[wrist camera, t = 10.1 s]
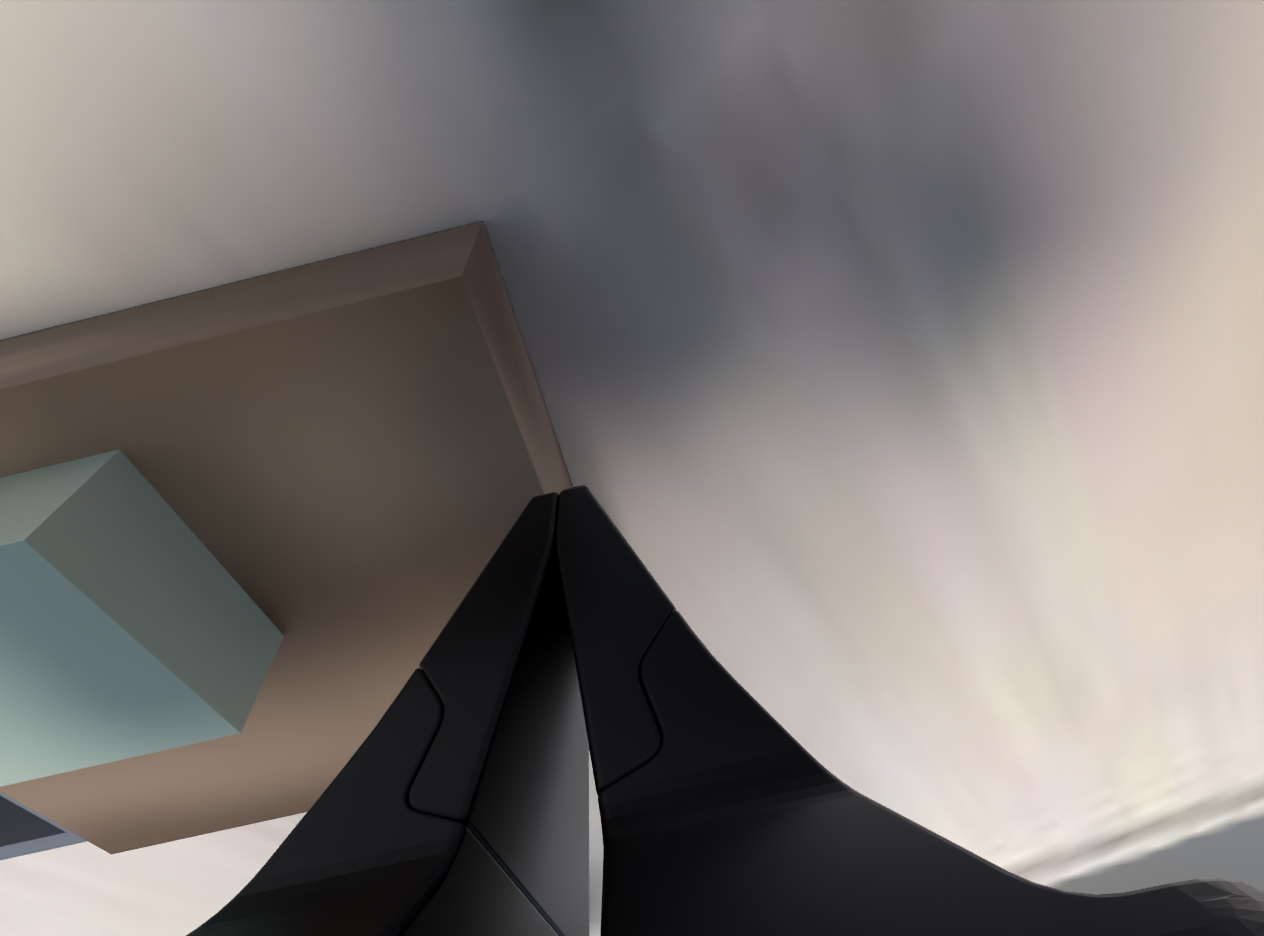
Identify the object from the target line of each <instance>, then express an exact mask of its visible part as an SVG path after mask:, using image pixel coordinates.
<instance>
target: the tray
mask: <svg viewBox="0 0 1264 936" xmlns="http://www.w3.org/2000/svg"><path fill="white" fill-rule="evenodd" d="M86 841H87V840H85V839H83V838H82V837H80V836H78V835H76V834H74V833H73V832H71V831H69V830H67V829H66V828H64V827H62V826H60V825H58V824H57V823H55V822H53V821H51V820H50V819H48V818H46V817H44V816H43V815H41V814H39V813H37V812H35V811H34V810H32V809H30V808H28V807H27V806H25V805H23V804H21V803H19V802H18V801H16V800H14V799H12V798H11V797H9V796H7V795H5V794H4V793H2V792H0V860H4V859H8V858H13V857H17V856H22V855H27V854H31V853H36V852H40V851H45V850H50V849H54V848H59V847H63V846H68V845H72V844H77V843H82V842H86Z"/></svg>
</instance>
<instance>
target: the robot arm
mask: <svg viewBox="0 0 1264 936" xmlns="http://www.w3.org/2000/svg"><path fill="white" fill-rule="evenodd" d="M419 666H420V668H421V669H420V668H417V669H415V671H414V672H413V674H412V675H411V677H410V678H409V680H408V681H407V682H406V684H405V685H404V687H403V688H402V690H401V691H400V693H399V694H398V696H397V697H396V698H395V700H394V701H393V703H392V704H391V705H390V707H389V708H388V710H387V711H386V712H385V714H384V715H383V717H382V718H381V719H380V721H379V722H378V724H377V725H376V726H375V728H374V729H373V730H372V732H371V733H370V734H369V735H368V737H367V738H366V739H365V741H364V742H363V743H362V744H361V746H360V747H359V748H358V750H357V751H356V752H355V753H354V755H353V756H352V757H351V759H350V760H349V761H348V762H347V764H346V765H345V766H344V767H343V769H342V770H341V771H340V772H339V774H338V775H337V776H336V777H335V779H334V780H333V781H332V782H331V784H330V785H329V786H328V787H327V788H326V790H325V791H324V792H323V793H322V795H321V796H320V797H319V798H318V800H317V801H316V802H315V803H314V805H313V806H312V807H311V808H310V810H309V811H308V812H307V813H306V814H305V816H304V817H303V818H302V819H301V821H300V822H299V823H298V824H297V826H296V827H295V828H294V829H293V831H292V832H291V833H290V834H289V835H288V837H287V838H286V839H285V840H284V842H283V843H282V844H281V845H280V847H279V848H278V849H277V850H276V852H275V853H274V854H273V855H272V856H271V858H270V859H269V860H268V861H267V863H266V864H265V865H264V866H263V867H262V868H261V870H260V871H259V872H258V873H257V874H256V875H255V877H254V878H253V879H252V880H251V881H250V882H249V883H248V884H247V885H246V886H245V887H244V888H243V889H242V890H241V891H240V892H239V893H238V894H237V895H236V896H235V897H234V898H233V899H232V900H231V901H230V902H229V903H228V904H227V905H226V906H225V907H223V908H222V909H221V910H220V911H219V912H218V913H217V914H215V915H214V916H213V917H211V918H210V919H209V920H208V921H206V922H205V923H204V924H202V925H201V926H200V927H198V928H197V929H195V930H194V931H192V932H191V933H189V934H188V935H186V936H589V749H590V755H591V762H592V768H593V774H594V780H595V786H596V792H597V794H598V803H599V809H600V816H601V824H602V834H603V845H604V859H603V885H602V911H601V936H1264V891H1262V890H1260V889H1258V888H1255V887H1254V886H1251V885H1249V884H1246V883H1244V882H1241V881H1236V880H1227V879H1219V878H1216V879H1195V880H1189V881H1183V882H1176V883H1170V884H1165V885H1160V886H1155V887H1150V888H1145V889H1141V890H1135V891H1130V892H1125V893H1114V894H1101V895H1094V894H1085V893H1075V892H1067V891H1063V890H1059V889H1055V888H1052V887H1048V886H1044V885H1041V884H1037V883H1034V882H1031V881H1029V880H1027V879H1025V878H1022V877H1020V876H1018V875H1015V874H1013V873H1011V872H1008V871H1006V870H1005V869H1003V868H1001V867H999V866H997V865H995V864H993V863H991V862H989V861H987V860H986V859H984V858H982V857H980V856H978V855H976V854H974V853H972V852H970V851H968V850H967V849H965V848H963V847H961V846H959V845H957V844H955V843H953V842H951V841H950V840H948V839H946V838H944V837H942V836H940V835H938V834H936V833H934V832H932V831H931V830H929V829H927V828H925V827H923V826H921V825H919V824H917V823H915V822H913V821H912V820H910V819H908V818H906V817H904V816H902V815H900V814H898V813H896V812H894V811H893V810H891V809H889V808H887V807H885V806H883V805H881V804H879V803H877V802H875V801H874V800H872V799H870V798H868V797H866V796H864V795H862V794H860V793H859V792H857V791H855V790H854V789H852V788H851V787H849V786H848V785H846V784H845V783H843V782H842V781H841V780H839V779H838V778H837V777H836V776H834V775H833V774H832V773H831V772H829V771H828V770H827V769H826V768H825V767H824V766H822V765H821V764H820V763H819V762H818V761H817V760H816V759H815V758H814V757H813V756H812V755H810V754H809V753H808V752H807V751H806V750H805V749H804V748H803V747H802V746H801V745H800V744H799V743H798V742H797V741H796V740H795V739H794V738H793V737H792V736H791V735H790V734H789V733H788V732H787V731H786V730H785V729H784V728H783V727H782V726H781V725H780V724H779V723H778V722H777V721H776V720H775V719H774V718H773V717H772V716H771V715H770V714H769V713H768V712H767V711H766V710H765V709H764V708H763V707H762V706H761V705H760V704H759V703H758V702H757V701H756V700H755V699H754V698H753V697H752V696H751V695H750V694H749V693H748V692H747V691H746V690H745V689H744V688H743V687H742V686H741V685H740V684H739V683H738V682H737V681H736V680H735V679H734V678H733V677H732V676H731V675H730V674H729V672H728V671H727V670H726V669H725V668H724V667H723V666H722V665H721V664H720V663H719V662H718V661H717V660H716V658H715V657H714V656H713V655H712V654H711V653H710V652H709V650H708V649H707V648H706V647H705V645H704V644H703V643H702V642H701V640H700V639H699V638H698V637H697V635H696V634H695V633H694V632H693V630H692V629H691V628H690V626H689V625H688V624H687V622H686V621H685V620H684V618H683V617H682V616H681V614H680V613H679V612H678V611H676V608H675V607H674V605H673V604H672V602H671V601H670V600H669V598H668V597H667V596H666V594H665V593H664V591H663V590H662V589H661V587H660V586H659V585H658V583H657V582H656V581H655V579H654V578H653V576H652V575H651V574H650V572H649V571H648V570H647V568H646V567H645V565H644V564H643V563H642V561H641V560H640V559H639V557H638V556H637V555H636V553H635V552H634V550H633V549H632V548H631V546H630V545H629V544H628V542H627V541H626V539H625V538H624V537H623V535H622V534H621V533H620V531H619V530H618V529H617V527H616V526H615V524H614V523H613V522H612V520H611V519H610V518H609V516H608V515H607V513H606V512H605V511H604V509H603V508H602V507H601V505H600V504H599V503H598V501H597V500H596V498H595V497H594V496H593V494H592V493H591V492H590V490H589V489H588V488H587V487H586V486H584V485H581V486H577V487H573V488H569V489H564V490H562V491H561V492H560V494H559V493H558V492H551V493H547V494H543V495H538V496H535V497H533V498H532V499H531V500H530V501H529V503H528V504H527V506H526V507H525V509H524V510H523V512H522V513H521V515H520V516H519V518H518V519H517V520H516V522H515V523H514V525H513V526H512V528H511V529H510V531H509V532H508V534H507V535H506V537H505V538H504V540H503V541H502V543H501V544H500V546H499V547H498V549H497V550H496V551H495V553H494V554H493V556H492V557H491V559H490V560H489V562H488V563H487V565H486V566H485V568H484V569H483V571H482V572H481V574H480V575H479V577H478V578H477V580H476V581H475V582H474V584H473V585H472V587H471V588H470V590H469V591H468V593H467V594H466V596H465V597H464V599H463V600H462V602H461V603H460V605H459V606H458V608H457V609H456V611H455V612H454V613H453V615H452V616H451V618H450V619H449V621H448V622H447V624H446V625H445V627H444V628H443V630H442V631H441V633H440V634H439V636H438V637H437V639H436V640H435V642H434V643H433V644H432V646H431V647H430V649H429V650H428V652H427V653H426V655H425V656H424V658H423V659H422V661H421V662H420V664H419Z"/></svg>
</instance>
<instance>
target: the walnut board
mask: <svg viewBox="0 0 1264 936" xmlns="http://www.w3.org/2000/svg"><path fill="white" fill-rule="evenodd" d="M119 449H120V450H121V451H122V452H123V454H124V455H125V456H126V457H127V458H128V459H129V460H130V462H131V463H132V464H133V465H134V466H135V467H136V468H137V469H138V471H139V472H140V473H141V474H142V475H143V476H144V477H145V479H146V480H147V481H148V482H149V483H150V484H151V485H152V487H153V488H154V489H155V490H156V491H157V492H158V493H159V494H160V496H161V497H162V498H163V499H164V500H165V501H166V502H167V504H168V505H169V506H170V507H171V508H172V509H173V510H174V511H175V513H176V514H177V515H178V516H179V517H180V518H181V519H182V521H183V522H184V523H185V524H186V525H187V526H188V527H189V529H190V530H191V531H192V532H193V533H194V534H195V535H196V536H197V538H198V539H199V540H200V541H201V542H202V543H203V544H204V546H205V547H206V548H207V549H208V550H209V551H210V552H211V554H212V555H213V556H214V557H215V558H216V559H217V560H218V561H219V563H220V564H221V565H222V566H223V567H224V568H225V569H226V571H227V572H228V573H229V574H230V575H231V576H232V577H233V579H234V580H235V581H236V582H237V583H238V584H239V585H240V586H241V588H242V589H243V590H244V591H245V592H246V593H247V594H248V596H249V597H250V598H251V599H252V600H253V601H254V602H255V603H256V605H257V606H258V607H259V608H260V609H261V610H262V611H263V613H264V614H265V615H266V616H267V617H268V618H269V619H270V621H271V622H272V623H273V624H274V625H275V626H276V627H277V628H278V630H279V631H280V632H281V633H282V634H283V635H284V638H283V640H282V642H281V644H280V647H279V649H278V651H277V653H276V656H275V658H274V660H273V662H272V665H271V667H270V669H269V671H268V673H267V676H266V678H265V680H264V682H263V685H262V687H261V689H260V691H259V693H258V696H257V698H256V700H255V702H254V705H253V707H252V709H251V711H250V714H249V716H248V718H247V720H246V722H245V725H244V727H243V729H242V731H241V733H240V734H235V735H231V736H226V737H222V738H217V739H213V740H208V741H204V742H199V743H195V744H190V745H186V746H181V747H177V748H172V749H168V750H163V751H159V752H154V753H150V754H145V755H141V756H136V757H132V758H127V759H123V760H118V761H114V762H109V763H105V764H100V765H96V766H91V767H87V768H82V769H78V770H73V771H69V772H64V773H60V774H55V775H51V776H46V777H42V778H37V779H33V780H28V781H24V782H19V783H15V784H10V785H6V786H1V787H0V792H2V793H4V794H5V795H7V796H9V797H11V798H12V799H14V800H16V801H18V802H19V803H21V804H23V805H25V806H27V807H28V808H30V809H32V810H34V811H35V812H37V813H39V814H41V815H43V816H44V817H46V818H48V819H50V820H51V821H53V822H55V823H57V824H58V825H60V826H62V827H64V828H66V829H67V830H69V831H71V832H73V833H74V834H76V835H78V836H80V837H82V838H83V839H85V840H87V841H89V842H90V843H92V844H94V845H96V846H97V847H99V848H101V849H103V850H105V851H106V852H108V853H110V854H115V853H120V852H124V851H129V850H133V849H138V848H143V847H147V846H152V845H156V844H161V843H166V842H170V841H175V840H179V839H184V838H189V837H193V836H198V835H202V834H207V833H212V832H216V831H221V830H225V829H230V828H235V827H239V826H244V825H249V824H253V823H258V822H262V821H267V820H272V819H276V818H281V817H285V816H290V815H295V814H299V813H304V812H308V811H309V810H310V808H311V807H312V806H313V805H314V803H315V802H316V801H317V800H318V798H319V797H320V796H321V795H322V793H323V792H324V791H325V790H326V788H327V787H328V786H329V785H330V784H331V782H332V781H333V780H334V779H335V777H336V776H337V775H338V774H339V772H340V771H341V770H342V769H343V767H344V766H345V765H346V764H347V762H348V761H349V760H350V759H351V757H352V756H353V755H354V753H355V752H356V751H357V750H358V748H359V747H360V746H361V744H362V743H363V742H364V741H365V739H366V738H367V737H368V735H369V734H370V733H371V732H372V730H373V729H374V728H375V726H376V725H377V724H378V722H379V721H380V719H381V718H382V717H383V715H384V714H385V712H386V711H387V710H388V708H389V707H390V705H391V704H392V703H393V701H394V700H395V698H396V697H397V696H398V694H399V693H400V691H401V690H402V688H403V687H404V685H405V684H406V682H407V681H408V680H409V678H410V677H411V675H412V674H413V672H414V671H415V669H417V668H420V666H419V664H420V662H421V661H422V659H423V658H424V656H425V655H426V653H427V652H428V650H429V649H430V647H431V646H432V644H433V643H434V642H435V640H436V639H437V637H438V636H439V634H440V633H441V631H442V630H443V628H444V627H445V625H446V624H447V622H448V621H449V619H450V618H451V616H452V615H453V613H454V612H455V611H456V609H457V608H458V606H459V605H460V603H461V602H462V600H463V599H464V597H465V596H466V594H467V593H468V591H469V590H470V588H471V587H472V585H473V584H474V582H475V581H476V580H477V578H478V577H479V575H480V574H481V572H482V571H483V569H484V568H485V566H486V565H487V563H488V562H489V560H490V559H491V557H492V556H493V554H494V553H495V551H496V550H497V549H498V547H499V546H500V544H501V543H502V541H503V540H504V538H505V537H506V535H507V534H508V532H509V531H510V529H511V528H512V526H513V525H514V523H515V522H516V520H517V519H518V518H519V516H520V515H521V513H522V512H523V510H524V509H525V507H526V506H527V504H528V503H529V501H530V500H531V499H532V498H533V497H535V496H538V495H543V494H547V493H551V492H558V493H559V494H560V492H561V491H562V490H564V489H569V488H573V485H572V483H571V480H570V477H569V474H568V471H567V468H566V465H565V462H564V459H563V456H562V453H561V450H560V447H559V444H558V441H557V438H556V435H555V432H554V430H553V427H552V424H551V421H550V418H549V415H548V412H547V409H546V406H545V403H544V400H543V397H542V394H541V391H540V388H539V385H538V382H537V379H536V376H535V374H534V371H533V368H532V365H531V362H530V359H529V356H528V353H527V350H526V347H525V344H524V341H523V338H522V335H521V332H520V329H519V326H518V323H517V321H516V318H515V315H514V312H513V309H512V306H511V303H510V300H509V297H508V294H507V291H506V288H505V285H504V282H503V279H502V276H501V273H500V270H499V267H498V265H497V262H496V259H495V256H494V253H493V250H492V247H491V244H490V241H489V238H488V235H487V232H486V229H485V226H484V223H483V221H480V222H476V223H472V224H468V225H464V226H460V227H456V228H452V229H448V230H444V231H440V232H436V233H432V234H428V235H424V236H420V237H416V238H412V239H408V240H404V241H400V242H396V243H392V244H388V245H383V246H379V247H375V248H371V249H367V250H363V251H359V252H355V253H351V254H347V255H343V256H339V257H335V258H331V259H327V260H323V261H319V262H315V263H311V264H307V265H303V266H299V267H295V268H291V269H287V270H283V271H279V272H275V273H271V274H267V275H263V276H259V277H254V278H250V279H246V280H242V281H238V282H234V283H230V284H226V285H222V286H218V287H214V288H210V289H206V290H202V291H198V292H194V293H190V294H186V295H182V296H178V297H174V298H170V299H166V300H162V301H158V302H154V303H150V304H146V305H142V306H138V307H134V308H129V309H125V310H121V311H117V312H113V313H109V314H105V315H101V316H97V317H93V318H89V319H85V320H81V321H77V322H73V323H69V324H65V325H61V326H57V327H53V328H49V329H45V330H41V331H37V332H33V333H29V334H25V335H21V336H17V337H13V338H9V339H4V340H0V478H2V477H6V476H11V475H15V474H19V473H23V472H27V471H31V470H36V469H40V468H44V467H48V466H52V465H56V464H61V463H65V462H69V461H73V460H77V459H81V458H85V457H90V456H94V455H98V454H102V453H106V452H110V451H115V450H119ZM420 669H421V668H420ZM589 750H590V749H589Z"/></svg>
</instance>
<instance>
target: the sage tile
mask: <svg viewBox="0 0 1264 936" xmlns="http://www.w3.org/2000/svg"><path fill="white" fill-rule="evenodd" d="M283 638H284V635H283V634H282V633H281V632H280V631H279V630H278V628H277V627H276V626H275V625H274V624H273V623H272V622H271V621H270V619H269V618H268V617H267V616H266V615H265V614H264V613H263V611H262V610H261V609H260V608H259V607H258V606H257V605H256V603H255V602H254V601H253V600H252V599H251V598H250V597H249V596H248V594H247V593H246V592H245V591H244V590H243V589H242V588H241V586H240V585H239V584H238V583H237V582H236V581H235V580H234V579H233V577H232V576H231V575H230V574H229V573H228V572H227V571H226V569H225V568H224V567H223V566H222V565H221V564H220V563H219V561H218V560H217V559H216V558H215V557H214V556H213V555H212V554H211V552H210V551H209V550H208V549H207V548H206V547H205V546H204V544H203V543H202V542H201V541H200V540H199V539H198V538H197V536H196V535H195V534H194V533H193V532H192V531H191V530H190V529H189V527H188V526H187V525H186V524H185V523H184V522H183V521H182V519H181V518H180V517H179V516H178V515H177V514H176V513H175V511H174V510H173V509H172V508H171V507H170V506H169V505H168V504H167V502H166V501H165V500H164V499H163V498H162V497H161V496H160V494H159V493H158V492H157V491H156V490H155V489H154V488H153V487H152V485H151V484H150V483H149V482H148V481H147V480H146V479H145V477H144V476H143V475H142V474H141V473H140V472H139V471H138V469H137V468H136V467H135V466H134V465H133V464H132V463H131V462H130V460H129V459H128V458H127V457H126V456H125V455H124V454H123V452H122V451H121V450H120V449H119V450H115V451H110V452H106V453H102V454H98V455H94V456H90V457H85V458H81V459H77V460H73V461H69V462H65V463H61V464H56V465H52V466H48V467H44V468H40V469H36V470H31V471H27V472H23V473H19V474H15V475H11V476H6V477H2V478H0V787H1V786H6V785H10V784H15V783H19V782H24V781H28V780H33V779H37V778H42V777H46V776H51V775H55V774H60V773H64V772H69V771H73V770H78V769H82V768H87V767H91V766H96V765H100V764H105V763H109V762H114V761H118V760H123V759H127V758H132V757H136V756H141V755H145V754H150V753H154V752H159V751H163V750H168V749H172V748H177V747H181V746H186V745H190V744H195V743H199V742H204V741H208V740H213V739H217V738H222V737H226V736H231V735H235V734H240V733H241V731H242V729H243V727H244V725H245V722H246V720H247V718H248V716H249V714H250V711H251V709H252V707H253V705H254V702H255V700H256V698H257V696H258V693H259V691H260V689H261V687H262V685H263V682H264V680H265V678H266V676H267V673H268V671H269V669H270V667H271V665H272V662H273V660H274V658H275V656H276V653H277V651H278V649H279V647H280V644H281V642H282V640H283Z"/></svg>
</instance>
